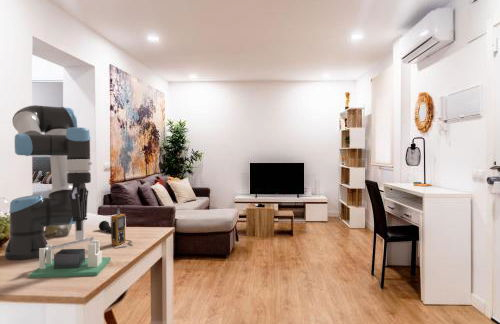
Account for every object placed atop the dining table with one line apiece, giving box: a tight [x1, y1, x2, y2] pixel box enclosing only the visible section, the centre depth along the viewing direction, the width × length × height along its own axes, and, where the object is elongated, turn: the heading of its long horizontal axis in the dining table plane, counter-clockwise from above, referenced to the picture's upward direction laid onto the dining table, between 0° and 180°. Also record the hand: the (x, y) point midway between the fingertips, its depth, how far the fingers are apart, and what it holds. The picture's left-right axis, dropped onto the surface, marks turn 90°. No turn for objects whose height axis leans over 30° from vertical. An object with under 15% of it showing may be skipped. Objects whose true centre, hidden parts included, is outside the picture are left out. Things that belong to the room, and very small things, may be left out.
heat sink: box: [53, 248, 86, 269], centre depth 132 cm, size 8×8×5 cm
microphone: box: [98, 220, 111, 234], centre depth 195 cm, size 5×5×19 cm
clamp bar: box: [45, 236, 96, 252], centre depth 132 cm, size 17×4×2 cm, turn 97°
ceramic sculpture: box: [44, 224, 73, 238], centre depth 183 cm, size 11×9×15 cm
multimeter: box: [110, 198, 135, 249], centre depth 168 cm, size 15×10×20 cm
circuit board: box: [29, 239, 111, 279], centre depth 132 cm, size 21×18×9 cm
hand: (80, 239), depth 132 cm, fingers closed
